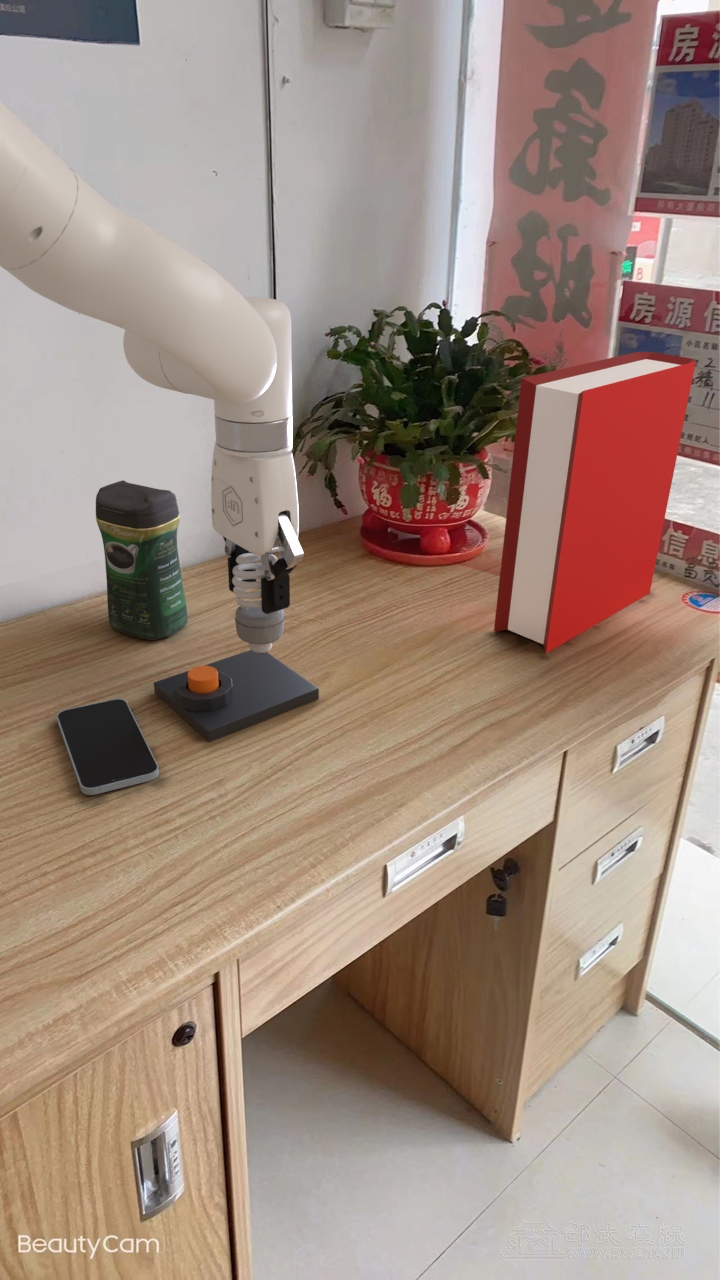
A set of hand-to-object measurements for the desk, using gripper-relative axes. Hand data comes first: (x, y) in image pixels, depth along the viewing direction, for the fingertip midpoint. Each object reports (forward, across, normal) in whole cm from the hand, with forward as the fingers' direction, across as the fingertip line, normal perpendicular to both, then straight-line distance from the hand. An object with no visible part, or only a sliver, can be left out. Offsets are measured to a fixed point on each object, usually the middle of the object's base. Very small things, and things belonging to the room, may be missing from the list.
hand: (259, 597), depth 95 cm
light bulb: (+7, 0, 0) cm, 7 cm away
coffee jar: (+11, -21, -3) cm, 24 cm away
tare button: (+9, 0, -7) cm, 11 cm away
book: (+11, +9, +46) cm, 48 cm away
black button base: (+11, 0, -3) cm, 12 cm away
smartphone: (+11, +1, -19) cm, 22 cm away
